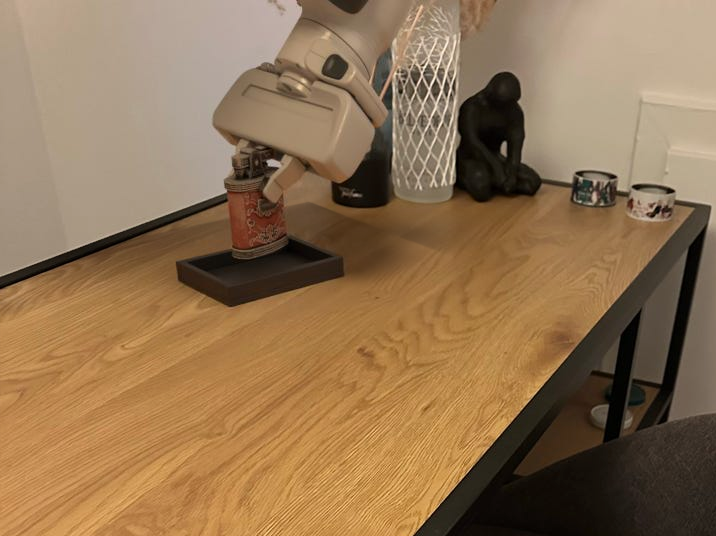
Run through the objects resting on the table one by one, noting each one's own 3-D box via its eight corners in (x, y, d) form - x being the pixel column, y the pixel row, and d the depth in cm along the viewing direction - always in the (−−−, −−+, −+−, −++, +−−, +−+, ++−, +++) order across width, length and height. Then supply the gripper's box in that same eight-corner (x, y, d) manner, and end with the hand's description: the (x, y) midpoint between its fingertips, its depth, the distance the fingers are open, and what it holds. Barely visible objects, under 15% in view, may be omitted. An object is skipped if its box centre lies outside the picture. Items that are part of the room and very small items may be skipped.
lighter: (249, 261, 99) (239, 158, 93) (224, 254, 100) (212, 152, 94) (295, 242, 105) (288, 143, 99) (271, 236, 106) (263, 138, 100)
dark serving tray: (177, 280, 103) (175, 261, 101) (291, 252, 112) (290, 234, 110) (230, 307, 98) (228, 286, 96) (344, 275, 107) (343, 257, 106)
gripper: (239, 37, 100) (173, 150, 101) (366, 71, 90) (292, 196, 91) (275, 81, 106) (213, 188, 106) (400, 118, 96) (330, 235, 96)
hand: (250, 192), depth 99 cm, fingers closed on lighter, 4 cm apart
